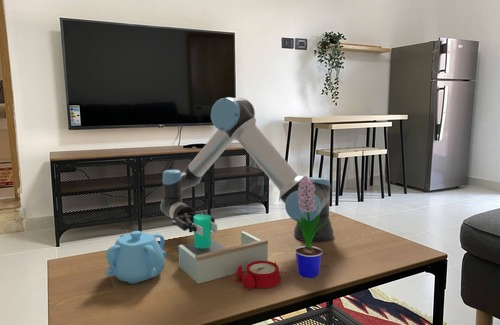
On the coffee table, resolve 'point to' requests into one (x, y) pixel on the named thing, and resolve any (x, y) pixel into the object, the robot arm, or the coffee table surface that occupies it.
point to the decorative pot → (136, 257)
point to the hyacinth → (308, 231)
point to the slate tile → (198, 251)
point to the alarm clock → (259, 275)
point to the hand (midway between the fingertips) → (209, 230)
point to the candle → (205, 239)
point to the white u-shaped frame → (223, 259)
